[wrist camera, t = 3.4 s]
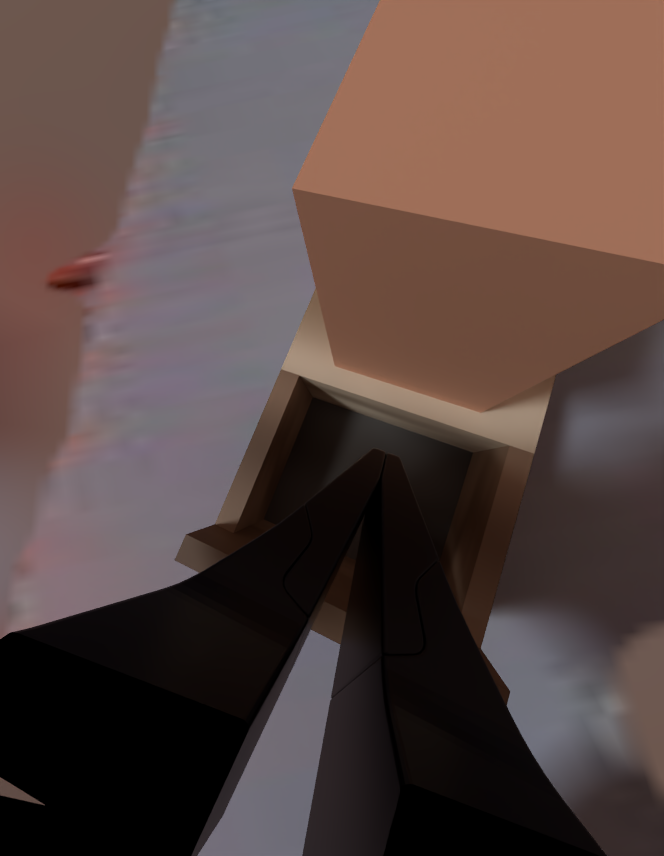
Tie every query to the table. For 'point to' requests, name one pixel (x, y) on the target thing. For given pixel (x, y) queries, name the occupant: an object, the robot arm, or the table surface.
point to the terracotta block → (490, 193)
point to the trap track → (393, 433)
